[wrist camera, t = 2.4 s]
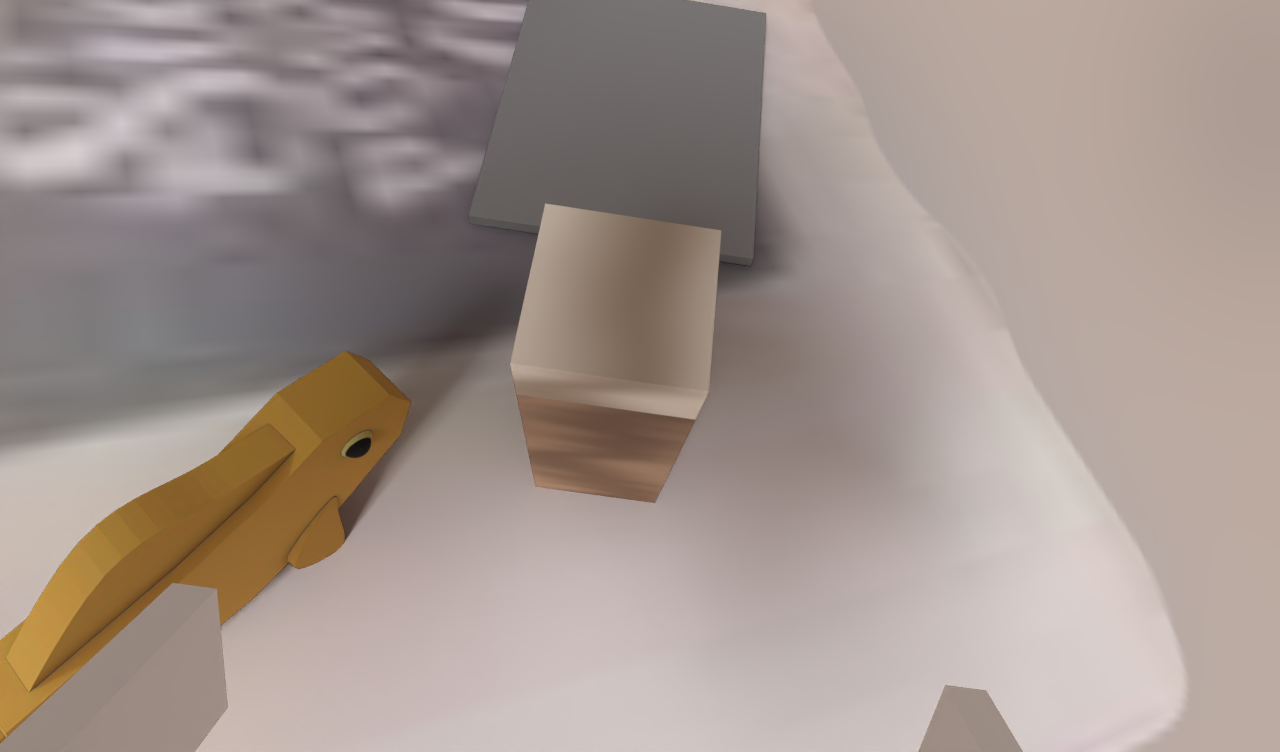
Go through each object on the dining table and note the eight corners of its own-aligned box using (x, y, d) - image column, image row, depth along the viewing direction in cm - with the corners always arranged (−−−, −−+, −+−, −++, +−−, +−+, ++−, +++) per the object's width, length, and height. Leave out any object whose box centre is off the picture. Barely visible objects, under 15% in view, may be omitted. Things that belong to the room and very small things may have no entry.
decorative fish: (413, 383, 27) (265, 293, 17) (464, 433, 26) (339, 368, 17) (-30, 821, 24) (-515, 1010, 14) (15, 891, 23) (-461, 1139, 14)
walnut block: (535, 486, 27) (510, 363, 16) (555, 377, 29) (545, 203, 18) (654, 503, 27) (709, 391, 16) (666, 393, 29) (721, 230, 18)
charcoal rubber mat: (470, 223, 32) (468, 215, 32) (536, -16, 40) (535, -25, 39) (750, 265, 33) (753, 259, 32) (763, 22, 40) (765, 13, 40)
